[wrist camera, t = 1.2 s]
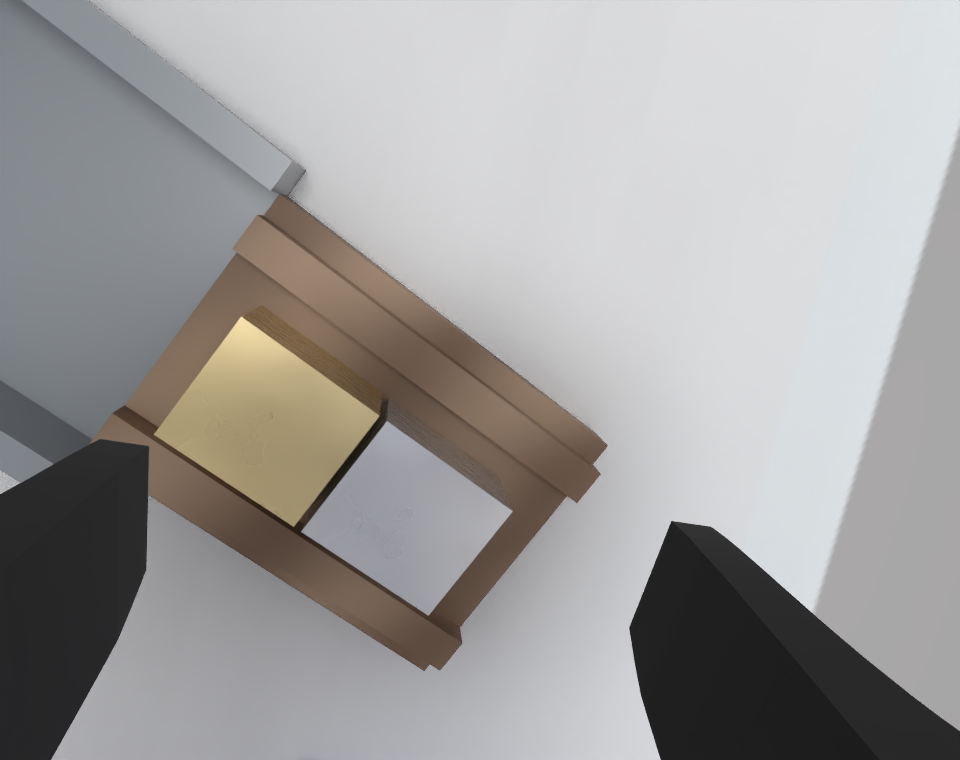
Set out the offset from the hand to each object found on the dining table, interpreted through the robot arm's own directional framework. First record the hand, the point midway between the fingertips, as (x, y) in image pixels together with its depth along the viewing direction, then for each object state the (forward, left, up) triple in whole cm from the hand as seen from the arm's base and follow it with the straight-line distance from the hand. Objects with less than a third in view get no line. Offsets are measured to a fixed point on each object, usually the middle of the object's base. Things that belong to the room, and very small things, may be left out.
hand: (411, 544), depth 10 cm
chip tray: (+12, +3, -15) cm, 19 cm away
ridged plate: (0, +3, -15) cm, 15 cm away
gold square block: (+2, +3, -13) cm, 14 cm away
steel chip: (-2, +3, -13) cm, 14 cm away
